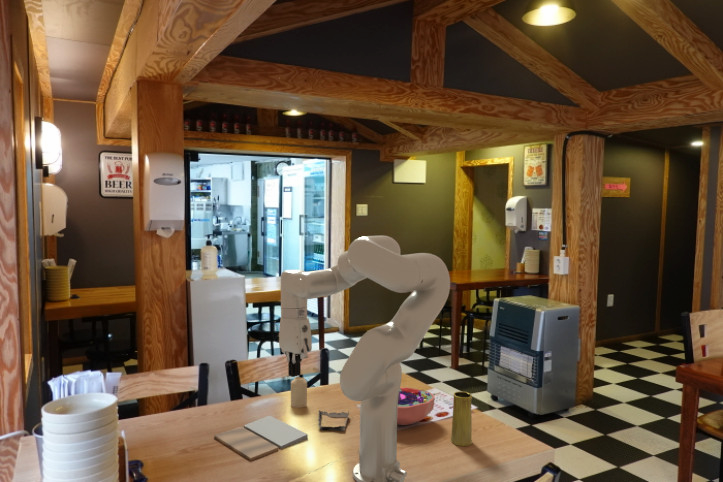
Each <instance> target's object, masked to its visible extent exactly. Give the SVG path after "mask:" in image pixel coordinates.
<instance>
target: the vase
mask: <svg viewBox="0 0 723 482" xmlns="http://www.w3.org/2000/svg"><path fill="white" fill-rule="evenodd" d="M472 398H473V397H472V394H471V393H470V392H467V391H461V390H460V391H456V392H453V401H452V402H453V403H452V405H453V406H452V421H451V435H450V441H451V443H452V444H454V445H455V446H459V447H468V446H471V445H472V444H473V441H472V440H473V439H472V429H473V428H472V426H473V425H472V424H473V422H472V420H473V419H472Z"/></svg>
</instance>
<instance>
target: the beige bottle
mask: <svg viewBox="0 0 723 482" xmlns="http://www.w3.org/2000/svg"><path fill="white" fill-rule="evenodd" d="M307 403H308V381H307V380H306V378H305V377H300V376H295V377H294V379H292V380H291V381H290V406H291V407H293V408H297V409H298V408H303V407H305V408H307V406H308V404H307Z"/></svg>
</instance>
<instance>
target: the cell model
mask: <svg viewBox="0 0 723 482" xmlns="http://www.w3.org/2000/svg"><path fill="white" fill-rule="evenodd" d="M435 399H436V397H435V395H434V394H433V393H431V392H430V391H427V390H424V389H418V388H417V389H416V388H412V387H400V390H399V396H398V412H397V425H399V426H408V425H412V424H413V425H414V424H416V423H417V422H420V421H422V420H424V419H425V418H426V417H427V416H428V415H429V414H431V412H432V411H433V409H434V407H435Z"/></svg>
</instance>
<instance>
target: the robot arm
mask: <svg viewBox="0 0 723 482" xmlns="http://www.w3.org/2000/svg"><path fill="white" fill-rule="evenodd" d="M347 249H348V250H346V251H344V252H342V253H341V254H340V255H339V256H338V258H337V263H336V265H335V266H333V267H329V268H327V269H319V270H312V271H305V270H302V269H285V270H283V271H282V272H281V274H280V321H279V327H278V328H279V331H278V343H279V348H280V349H281V352H282V353H283V354H284V355H285V356H286V361H287V362H288V365H287V366H288V368H287V369H288V376H289V377H290V378H296V377H299V376H300V375H301V374H302V372H301V368H302V365H301V364H302V363H301V362H303V360H304V359H307V358H309V356H308V353H310V352H312V350H313V349H312V348H313V347H312V346H313V345H312V344H313V343H312V330H311V322H310V319H309V317H308V300H312V299H317V298H321V297H327V296H332V295H335V294H338V293H340V292H343V291H345V290H347V289H350V288H351V287H353V286H355V285H356V284H357V283H358V282H361V281H363V280H365V279H369V280H370V281H373V282H374V283H376V284H379V285H380V286H381V287H384V288H386V289H387V290H389V291H392V292H395V293H401V294H403V293H409V292H410V294H409V296H407V298H406V299H404V301H403V302H402V304H401V305H400V306H399V309H398V310H397V312H396V313H395V315H394V316H393V318H392V319H391V320H390V321H389V322H387V323H385V324H382V325H380V326H375V327H374V328H371V329H369V330H367V331H366V332H365V333H363V334H362V336H361V337H360V338H359V339H358V341H357V343H356V345H355V347H354V348H353V349H352V351H351V353H350V354H349V356H348V358H347V360H346V361H345V363H344V365H343V366H342V369H341V372H340V375H339V385H340V386H339V387H340V389H341V390H340V391H341V392H342V394H343V395H344V396H345V398H347V399H349V400H350V401H353V402H360V406H359V409H360V410H359V446H358V447H359V449H358V451H359V452H358V455H359V457H358V459H359V461H358V462H359V463H356V465H355V466H354V467H353V469H352V476H353V478H354V480H355V481H356V482H405V479H406V477H407V474H408V473H407V471H405V470H404V469H402V468H401V467H400V466H401V464H400V460H398V459H397V455H398V454H397V451H398V450H397V448H398V447H397V446H398V442H397V441H398V424H397V412H398V396H399V390H400V388H401V385H402V377H403V375H402V374H403V370H402V366H401V363H402V362H403V361H406V360H408V359H409V358H410V357H412V355H413V354H414V353H415V351H416V349H417V348H418V346H419V345H420V344H421V342H422V340H423V339H424V337H425V336H426V334H427V333H428V331H429V330H430V328H431V326H432V325H433V323H434V321H435V320H436V319H437V317H438V315H439V314H440V313H441V311H442V309H443V308H444V306H445V305H446V302H447V300H448V297H449V295H450V290H451V278H450V277H451V276H450V273H449V270H448V267H447V265H446V263H445V262H444V261H443V260H442V259H441V258H440V257H439V256H437V255H435V254H432V253H430V252H429V253H428V252H419V253H410V254H409V253H408V254H401V247H400V244H399V243H398V242H397V240H395V239H394V238H393V237H391V236H388V235H367V236H364V235H363V236H361V237H358V238H356V239H354V240H353V241H352V242H351V243H350V244H349V246H348V248H347Z"/></svg>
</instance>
